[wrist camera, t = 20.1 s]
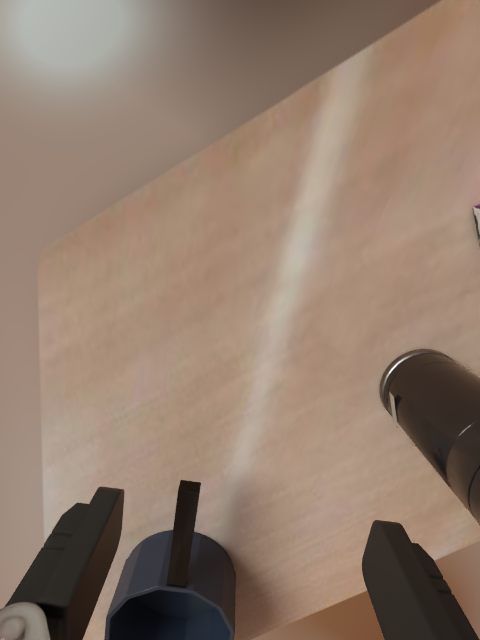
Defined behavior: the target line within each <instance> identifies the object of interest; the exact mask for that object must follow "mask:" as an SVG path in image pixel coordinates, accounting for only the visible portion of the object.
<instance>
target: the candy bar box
mask: <svg viewBox="0 0 480 640" xmlns="http://www.w3.org/2000/svg"><path fill="white" fill-rule="evenodd" d="M473 213H474V218H475V222H476V228H477V234H478V241H479V245H480V204H479V205H477V206H474V207H473Z"/></svg>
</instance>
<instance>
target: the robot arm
mask: <svg viewBox="0 0 480 640" xmlns="http://www.w3.org/2000/svg"><path fill="white" fill-rule="evenodd" d="M380 398H381V401H382V403H383V405H384V407H385V409H386V410H387V411H388V412H389V414H390V415H391V416H392V417H393V423H394V424H395V425H396V426H397V422H398V424H399V425H400V426H401V428H402V429H403V430H404V431H405V432H406V434H407V435H408V436H409V437H410V439H411V440H412V441H413V442H414V444H415V445H416V446H417V447H418V449H419V450H420V451H421V452H422V454H423V455H424V456H425V457H426V459H427V460H428V461H429V462H430V464H431V465H432V466H433V467H434V468H435V470H436V471H437V472H438V473H439V475H440V476H441V477H442V478H443V480H444V481H445V482H446V483H447V485H448V486H449V487H450V488H451V490H452V491H453V492H454V493H455V495H456V496H457V497H458V498H459V499H460V501H461V502H462V503H463V504H464V506H465V507H466V508H467V509H468V511H469V512H470V513H471V514H472V516H473V517H474V518H475V519H476V521H477V522H478V523H479V525H480V378H479V377H477V376H476V375H474V374H473V373H471V372H470V371H468V370H466V369H465V368H464V367H462V366H460V365H459V364H457V363H456V362H455V361H453V360H452V359H451V358H449V357H448V356H446V355H445V354H443V353H441V352H438V351H435V350H430V349H419V350H414V351H410V352H408V353H405V354H403V355H401V356H400V357H398V358H397V359H395V360H394V361H393V362H392V363H391V364H390V365H389V366H388V368H387V369H386V371H385V372H384V374H383V376H382V379H381V383H380ZM397 428H398V426H397ZM123 504H124V490H123V489H116V488H108V487H99V488H98V489H97V491H96V493H95V495H94V496H93V498H92V500H91V502H90V504H83V503H76V504H75V505H74V506H73V507H72V508H70V509H69V510H68V511H67V512H65V513H64V514H63V515H62V516H61V518H60V520H59V521H58V523H57V524H56V526H55V528H54V529H53V531H52V534H50V536H49V537H48V539H47V540H46V542H45V544H44V547H43V548H42V549H41V550H40V552H39V554H38V555H37V557H36V558H35V560H34V561H33V563H32V565H31V566H30V568H29V569H28V571H27V573H26V574H25V576H24V578H23V579H22V581H21V582H20V584H19V586H18V587H17V589H16V590H15V592H14V594H13V595H12V597H11V599H10V600H9V601H8V603H7V604H6V605H5V607H4V608H2V609H0V640H82V639H83V637H84V634H85V632H86V629H87V627H88V624H89V621H90V619H91V616H92V614H93V611H94V608H95V606H96V603H97V601H98V598H99V595H100V593H101V590H102V588H103V585H104V582H105V580H106V577H107V575H108V572H109V569H110V567H111V564H112V562H113V559H114V556H115V554H116V551H117V548H118V544H119V540H120V536H121V530H122V517H123ZM362 571H363V577H364V581H365V584H366V587H367V590H368V593H369V595H370V599H371V601H372V604H373V607H374V610H375V613H376V616H377V619H378V621H379V624H380V627H381V630H382V633H383V636H384V639H385V640H479V638H478V636H477V635H476V633H475V631H474V630H473V628H472V626H471V624H470V623H469V621H468V619H467V617H466V616H465V614H464V612H463V610H462V609H461V607H460V605H459V604H458V602H457V600H456V598H455V597H454V595H452V594H451V590H450V588H449V586H448V585H447V583H446V581H445V580H443V576H442V574H441V572H440V571H439V569H438V567H437V565H436V564H435V562H434V560H433V559H432V558H431V557H430V556H429V555H428V554H427V553H426V551H425V550H424V549H423V548H422V547H421V546H420V545H419V544H417V543H412V542H411V541H410V539H409V537H408V535H407V533H406V531H405V530H404V528H403V526H402V525H401V524H400V523H396V522H388V521H380V520H375V521H374V522H373V524H372V527H371V530H370V534H369V537H368V541H367V544H366V548H365V551H364V555H363V560H362Z"/></svg>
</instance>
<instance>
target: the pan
mask: <svg viewBox="0 0 480 640" xmlns="http://www.w3.org/2000/svg"><path fill="white" fill-rule="evenodd" d="M200 486H201V483H200V482H192V481H185V480H181V481H180V485H179V490H178V497H177V505H176V513H175V521H174V529H173V530H170V531H164V532H160V533H157V534H154V535H152V536H150V537H148V538H146V539H145V540H143V541H142V542H140V543H139V544H138V545H137V546H136V547H135V549H134V550H133V551H132V553H131V555H130V556H129V557H128V559H127V560H126V562H125V565H124V568H123V571H122V573H121V576H120V579H119V582H118V585H117V588H116V591H115V594H114V597H113V600H112V602H111V605H110V608H109V611H108V614H107V617H106V628H105V640H233V638H234V633H235V582H236V574H235V571H234V568H233V564H232V562H231V559H230V557H229V556H228V554H227V553H226V551H225V550H224V549H223V548H222V547H221V546H220V545H219V544H218V543H216V542H215V541H214V540H212V539H210V538H209V537H207V536H204V535H202V534H199V533H196V532H194V528H195V521H196V514H197V507H198V500H199V493H200Z"/></svg>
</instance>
